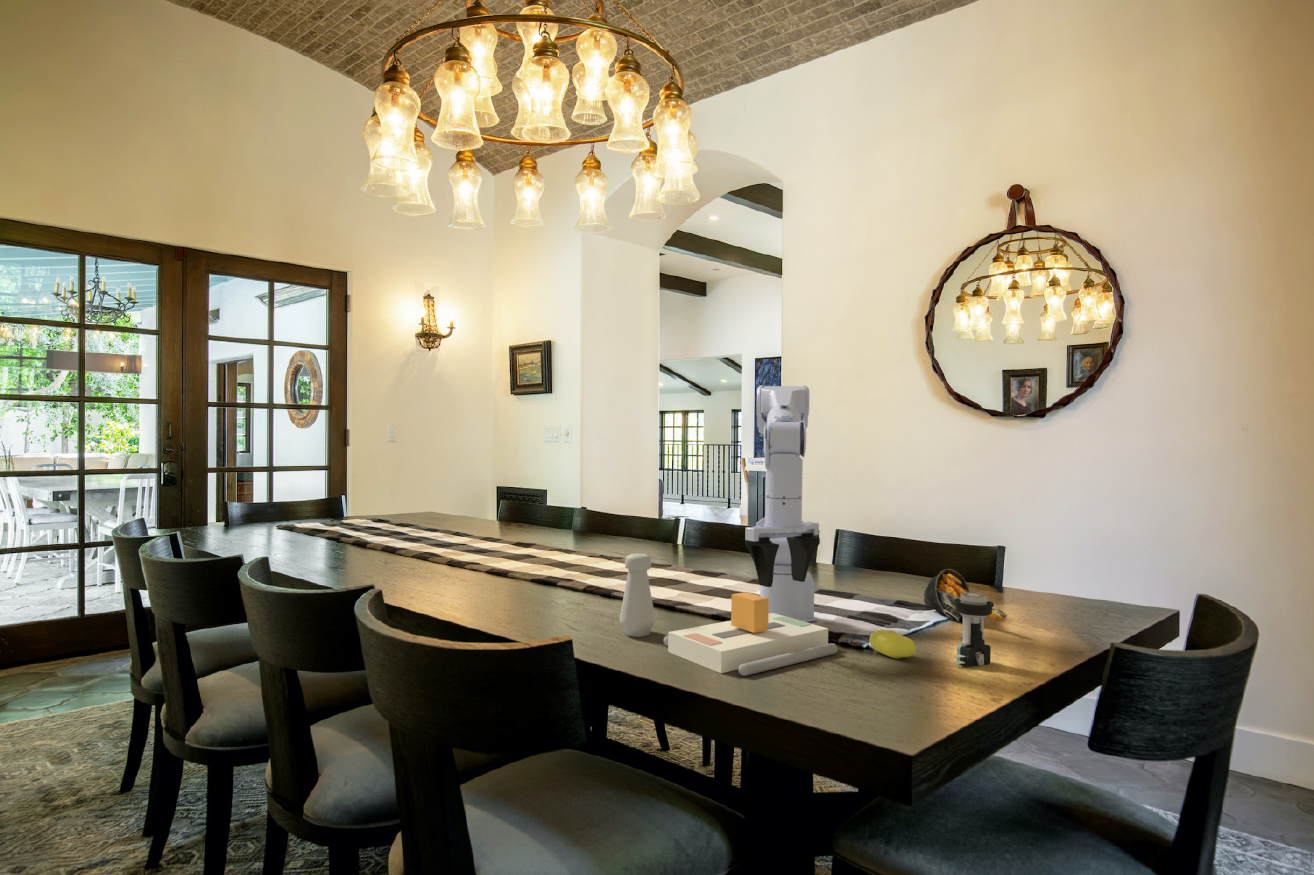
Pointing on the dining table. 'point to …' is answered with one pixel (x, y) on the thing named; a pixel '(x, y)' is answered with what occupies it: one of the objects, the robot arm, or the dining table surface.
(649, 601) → the salt shaker
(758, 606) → the block
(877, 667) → the dining table surface
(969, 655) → the push button
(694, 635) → the breaker panel
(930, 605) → the fried shrimp in bowl
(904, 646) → the lemon
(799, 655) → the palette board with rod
